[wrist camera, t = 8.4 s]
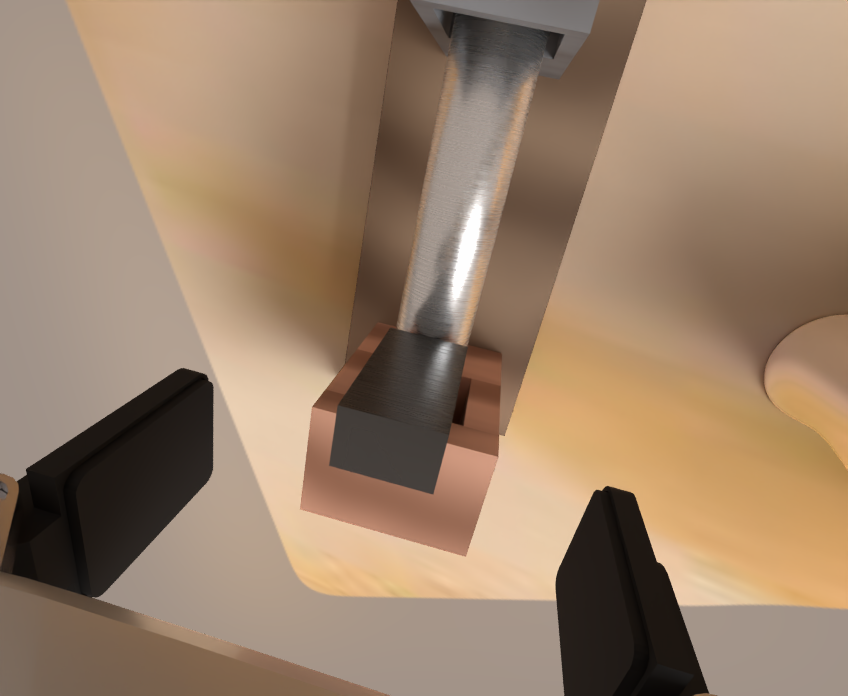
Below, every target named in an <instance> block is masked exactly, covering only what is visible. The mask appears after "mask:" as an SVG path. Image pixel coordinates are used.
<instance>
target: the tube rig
mask: <svg viewBox="0 0 848 696" xmlns="http://www.w3.org/2000/svg"><path fill="white" fill-rule="evenodd" d="M645 3H646V0H398V2H397V9H396V16H395V23H394V30H393V37H392V43H391V50H390V57H389V64H388V71H387V78H386V85H385V92H384V99H383V105H382V112H381V119H380V126H379V133H378V140H377V147H376V154H375V161H374V168H373V174H372V181H371V188H370V195H369V202H368V209H367V216H366V223H365V230H364V236H363V243H362V250H361V257H360V264H359V271H358V278H357V285H356V292H355V299H354V305H353V312H352V319H351V326H350V333H349V340H348V347H347V354H346V361H345V365H344V367H343V368H342V369H341V370H340V372H339V373H338V374H337V376H336V377H335V378H334V379H333V381H332V382H331V383H330V385H329V386H328V387H327V389H326V390H325V391H324V392H323V394H322V395H321V396H320V398H319V399H318V400H317V401H316V403H315V404H314V405H313V407H312V413H311V421H310V430H309V438H308V447H307V455H306V464H305V472H304V481H303V489H302V498H301V506H300V509H301V510H305V511H308V512H312V513H315V514H318V515H322V516H325V517H329V518H332V519H336V520H339V521H343V522H346V523H350V524H353V525H357V526H360V527H364V528H367V529H371V530H374V531H378V532H381V533H385V534H388V535H392V536H395V537H399V538H402V539H406V540H409V541H413V542H416V543H420V544H423V545H427V546H430V547H434V548H437V549H441V550H444V551H448V552H451V553H455V554H458V555H462V556H465V557H466V554H467V551H468V548H469V545H470V542H471V539H472V536H473V533H474V530H475V527H476V524H477V521H478V518H479V514H480V511H481V508H482V505H483V502H484V499H485V496H486V493H487V490H488V487H489V484H490V481H491V478H492V475H493V472H494V469H495V465H496V462H497V459H498V450H499V435H503V436H505V433H506V430H507V427H508V424H509V421H510V418H511V415H512V412H513V408H514V405H515V402H516V399H517V396H518V393H519V390H520V387H521V384H522V381H523V378H524V375H525V372H526V369H527V365H528V362H529V359H530V356H531V353H532V350H533V347H534V344H535V341H536V338H537V335H538V332H539V329H540V326H541V323H542V319H543V316H544V313H545V310H546V307H547V304H548V301H549V298H550V295H551V292H552V289H553V286H554V283H555V280H556V276H557V273H558V270H559V267H560V264H561V261H562V258H563V255H564V252H565V249H566V246H567V243H568V240H569V237H570V234H571V230H572V227H573V224H574V221H575V218H576V215H577V212H578V209H579V206H580V203H581V200H582V197H583V194H584V191H585V187H586V184H587V181H588V178H589V175H590V172H591V169H592V166H593V163H594V160H595V157H596V154H597V151H598V148H599V145H600V141H601V138H602V135H603V132H604V129H605V126H606V123H607V120H608V117H609V114H610V111H611V108H612V105H613V102H614V98H615V95H616V92H617V89H618V86H619V83H620V80H621V77H622V74H623V71H624V68H625V65H626V62H627V59H628V56H629V52H630V49H631V46H632V43H633V40H634V37H635V34H636V31H637V28H638V25H639V22H640V19H641V16H642V13H643V9H644V6H645ZM456 13H460V14H465V15H470V16H475V17H480V18H485V19H490V20H495V21H500V22H505V23H510V24H515V25H520V26H525V27H530V28H535V29H540V30H545V31H550V32H549V36H548V40H547V44H546V48H545V51H544V55H543V59H542V63H541V67H540V70H539V74H538V78H537V82H536V86H535V90H534V93H533V97H532V101H531V105H530V109H529V113H528V116H527V120H526V124H525V128H524V132H523V136H522V139H521V143H520V147H519V151H518V155H517V158H516V162H515V166H514V170H513V174H512V178H511V181H510V185H509V189H508V193H507V197H506V201H505V204H504V208H503V212H502V216H501V220H500V223H499V227H498V231H497V235H496V239H495V243H494V246H493V250H492V254H491V258H490V262H489V266H488V269H487V273H486V277H485V281H484V285H483V289H482V292H481V296H480V300H479V304H478V308H477V311H476V315H475V319H474V323H473V327H472V331H471V334H470V338H469V342H468V346H467V347H468V349H467V354H466V358H465V363H464V368H463V372H462V377H461V382H460V387H459V391H458V396H457V401H456V405H455V410H454V415H453V419H452V424H451V429H450V434H449V438H448V441H447V445H446V449H445V453H444V456H443V460H442V464H441V468H440V471H439V475H438V479H437V483H436V486H435V490H434V494H429V493H425V492H422V491H418V490H415V489H411V488H407V487H404V486H400V485H397V484H393V483H389V482H386V481H382V480H379V479H375V478H371V477H368V476H364V475H361V474H357V473H353V472H350V471H346V470H342V469H339V468H335V467H332V466H329V462H330V455H331V448H332V441H333V434H334V427H335V420H336V413H337V406H338V404H339V402H340V401H341V400H342V398H343V397H344V395H345V394H346V392H347V391H348V389H349V388H350V386H351V385H352V383H353V382H354V380H355V379H356V377H357V376H358V375H359V373H360V372H361V370H362V369H363V367H364V366H365V364H366V363H367V361H368V360H369V358H370V357H371V355H372V354H373V352H374V351H375V350H376V348H377V347H378V345H379V344H380V342H381V341H382V339H383V338H384V336H385V335H386V333H387V332H388V330H389V329H390V327H391V328H395V329H396V326H397V321H398V316H399V310H400V305H401V300H402V294H403V289H404V284H405V279H406V273H407V268H408V263H409V257H410V252H411V247H412V242H413V236H414V231H415V226H416V220H417V215H418V210H419V204H420V199H421V194H422V189H423V183H424V178H425V173H426V167H427V162H428V157H429V152H430V146H431V141H432V136H433V130H434V125H435V120H436V114H437V109H438V104H439V99H440V93H441V88H442V83H443V77H444V72H445V67H446V62H447V56H448V51H449V46H450V40H451V35H452V30H453V24H454V19H455V14H456Z"/></svg>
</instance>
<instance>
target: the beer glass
mask: <svg viewBox="0 0 848 696" xmlns="http://www.w3.org/2000/svg"><path fill="white" fill-rule="evenodd" d="M764 385H765V389H766V392H767V394H768V397H769V398H770V400H771V401H772V403H773V404H774V405H775V406H776V407H777V408H778V409H779V410H781V411H782V412H783V413H785V414H786V415H788V416H790V417H791V418H793V419H795V420H797V421H799V422H801V423H802V424H804V425H806V426H808V427H810V428H811V429H813V430H814V431H816V432H817V433H818V434H819V435H820V436H822V438H823V439H824V440H825V441H826V442H827V443H828V444H829V445H830V447H831V448H832V449H833V451H834V452H835V453H836V455H837V456H838V458H839V459H840V460H841V462H842V463H843V465H844V466H845V468H846V469H847V471H848V314H845V315H833V316H827V317H823V318H819V319H816V320H814V321H811V322H809V323H806V324H804V325H802V326H801V327H799V328H797V329H796V330H794V331H793V332H791V333H790V334H789V335H787V336H786V337H785V338H784V339H783V340H782V341H781V342H780V343H779V344H778V345H777V346H776V348H775V349H774V350H773V352H772V353H771V355H770V357H769V359H768V361H767V364H766V367H765V372H764Z"/></svg>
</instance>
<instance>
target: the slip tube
mask: <svg viewBox="0 0 848 696" xmlns="http://www.w3.org/2000/svg"><path fill="white" fill-rule="evenodd" d="M549 32H550V31H545V30H540V29H535V28H530V27H525V26H520V25H515V24H510V23H505V22H500V21H495V20H490V19H485V18H480V17H475V16H470V15H465V14H460V13H456V14H455V19H454V24H453V30H452V35H451V40H450V46H449V51H448V56H447V62H446V67H445V72H444V77H443V83H442V88H441V93H440V99H439V104H438V109H437V114H436V120H435V125H434V130H433V136H432V141H431V146H430V152H429V157H428V162H427V167H426V173H425V178H424V183H423V189H422V194H421V199H420V204H419V210H418V215H417V220H416V226H415V231H414V236H413V242H412V247H411V252H410V257H409V263H408V268H407V273H406V279H405V284H404V289H403V294H402V300H401V305H400V310H399V316H398V321H397V326H396V329H395V328H391V327H390V329H389V330H388V332H387V333H386V335H385V336H384V338H383V339H382V341H381V342H380V344H379V345H378V347H377V348H376V350H375V351H374V352H373V354H372V355H371V357H370V358H369V360H368V361H367V363H366V364H365V366H364V367H363V369H362V370H361V372H360V373H359V375H358V376H357V377H356V379H355V380H354V382H353V383H352V385H351V386H350V388H349V389H348V391H347V392H346V394H345V395H344V397H343V398H342V400H341V401H340V402H339V404H338V406H337V413H336V420H335V427H334V434H333V441H332V448H331V455H330V462H329V466H332V467H335V468H339V469H342V470H346V471H350V472H353V473H357V474H361V475H364V476H368V477H371V478H375V479H379V480H382V481H386V482H389V483H393V484H397V485H400V486H404V487H407V488H411V489H415V490H418V491H422V492H425V493H429V494H434V490H435V486H436V483H437V479H438V475H439V471H440V468H441V464H442V460H443V456H444V453H445V449H446V445H447V441H448V438H449V434H450V429H451V424H452V419H453V415H454V410H455V405H456V401H457V396H458V391H459V387H460V382H461V377H462V372H463V368H464V363H465V358H466V354H467V349H468V347H467V346H468V342H469V338H470V334H471V331H472V327H473V323H474V319H475V315H476V311H477V308H478V304H479V300H480V296H481V292H482V289H483V285H484V281H485V277H486V273H487V269H488V266H489V262H490V258H491V254H492V250H493V246H494V243H495V239H496V235H497V231H498V227H499V223H500V220H501V216H502V212H503V208H504V204H505V201H506V197H507V193H508V189H509V185H510V181H511V178H512V174H513V170H514V166H515V162H516V158H517V155H518V151H519V147H520V143H521V139H522V136H523V132H524V128H525V124H526V120H527V116H528V113H529V109H530V105H531V101H532V97H533V93H534V90H535V86H536V82H537V78H538V74H539V70H540V67H541V63H542V59H543V55H544V51H545V48H546V44H547V40H548V36H549Z"/></svg>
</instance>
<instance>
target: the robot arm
mask: <svg viewBox="0 0 848 696" xmlns="http://www.w3.org/2000/svg"><path fill="white" fill-rule="evenodd" d="M212 470H213V384H212V383H211V382H209V381H208V377H207V375H205V374H203V373H199V372H196V371H192V370H188V369H185V368H181V369H179V370H177V371H175V372H174V373H172V374H171V375H169V376H167V377H166V378H164V379H163V380H161V381H160V382H158V383H157V384H155V385H154V386H152V387H151V388H149V389H148V390H146V391H145V392H143V393H142V394H140V395H139V396H137V397H135V398H134V399H132V400H131V401H130V402H128V403H126V404H125V405H123V406H122V407H120V408H119V409H117V410H116V411H114V412H113V413H111V414H109V415H108V416H106V417H105V418H103V419H102V420H100V421H99V422H97V423H96V424H94V425H93V426H91V427H90V428H88V429H87V430H85V431H84V432H82V433H80V434H79V435H77V436H76V437H74V438H73V439H71V440H70V441H68V442H67V443H65V444H64V445H62V446H61V447H59V448H58V449H56V450H55V451H53V452H51V453H50V454H49V455H47V456H46V457H44V458H42V459H41V460H39V461H38V462H36V463H35V464H33V465H32V466H30V467H28V468H27V469H26V472H27V475H26V476H24V477H23V478H21V479H20V480H18V481H17V482H16V481H15V479H14V478H12V477H10V476H7V475H5V474H1V473H0V696H389V695H387V694H384V693H381V692H378V691H375V690H372V689H368V688H366V687H363V686H360V685H357V684H354V683H350V682H348V681H345V680H342V679H339V678H336V677H333V676H330V675H327V674H324V673H320V672H318V671H315V670H312V669H309V668H306V667H302V666H300V665H296V664H294V663H290V662H288V661H284V660H281V659H278V658H275V657H272V656H269V655H266V654H263V653H260V652H257V651H254V650H251V649H248V648H245V647H242V646H239V645H236V644H233V643H230V642H226V641H224V640H221V639H218V638H215V637H212V636H209V635H206V634H202V633H199V632H196V631H193V630H190V629H187V628H184V627H181V626H177V625H175V624H171V623H168V622H165V621H162V620H159V619H156V618H153V617H150V616H147V615H144V614H141V613H138V612H134V611H131V610H128V609H125V608H122V607H119V606H116V605H112V604H110V603H107V602H104V601H101V600H97V599H94V598H92V597H99V596H101V595H102V594H103V593H104V592H105V591H106V590H107V589H108V588H109V587H110V586H111V585H112V584H113V583H114V582H115V581H116V580H117V579H118V578H119V576H120V575H121V574H122V573H123V572H124V571H125V570H126V569H127V568H128V567H129V566H130V564H132V562H133V561H134V560H135V559H136V558H137V557H138V556H139V555H140V554H141V553H142V552H143V551H144V550H145V549H146V547H147V546H148V545H149V544H150V543H151V542H152V541H153V540H154V539H155V538H156V537H157V535H159V533H160V532H161V531H162V530H163V529H164V528H165V527H166V526H167V525H168V524H169V523H170V522H171V520H172V519H173V518H174V517H175V516H176V515H177V514H178V513H179V512H180V511H181V510H182V509H183V507H185V505H186V504H187V503H188V502H189V501H190V500H191V499H192V498H193V497H194V496H195V495H196V493H198V491H199V490H200V489H201V488H202V487H203V486H204V485H205V484H206V483H207V481H208V480H209V478H210V476H211V474H212ZM556 599H557V611H558V623H559V636H560V648H561V660H562V672H563V684H564V694H565V695H564V696H716V695H712V694H709V692H708V689H707V686H706V683H705V680H704V677H703V675H702V672H701V669H700V666H699V663H698V660H697V657H696V654H695V652H694V649H693V646H692V643H691V640H690V637H689V634H688V631H687V628H686V626H685V623H684V620H683V617H682V614H681V611H680V608H679V605H678V602H677V600H676V597H675V594H674V591H673V588H672V585H671V582H670V579H669V576H668V574H667V572H666V570H665V568H664V566H663V565H662V564H660V563H658V562H657V561H656V558H655V555H654V552H653V549H652V546H651V543H650V540H649V537H648V534H647V531H646V528H645V525H644V522H643V519H642V516H641V513H640V510H639V507H638V504H637V501H636V498H635V496H634V494H633V493H631V492H627V491H624V490H620V489H617V488H613V487H609V486H606V487H605V488H604V489H603V491H600V490H596V491H595V492H594V493H593V495H592V497H591V499H590V502H589V504H588V506H587V508H586V510H585V513H584V515H583V517H582V519H581V521H580V524H579V526H578V528H577V530H576V532H575V534H574V537H573V539H572V541H571V543H570V545H569V548H568V550H567V552H566V554H565V556H564V559H563V561H562V563H561V565H560V567H559V570H558V572H557V576H556Z"/></svg>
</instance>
